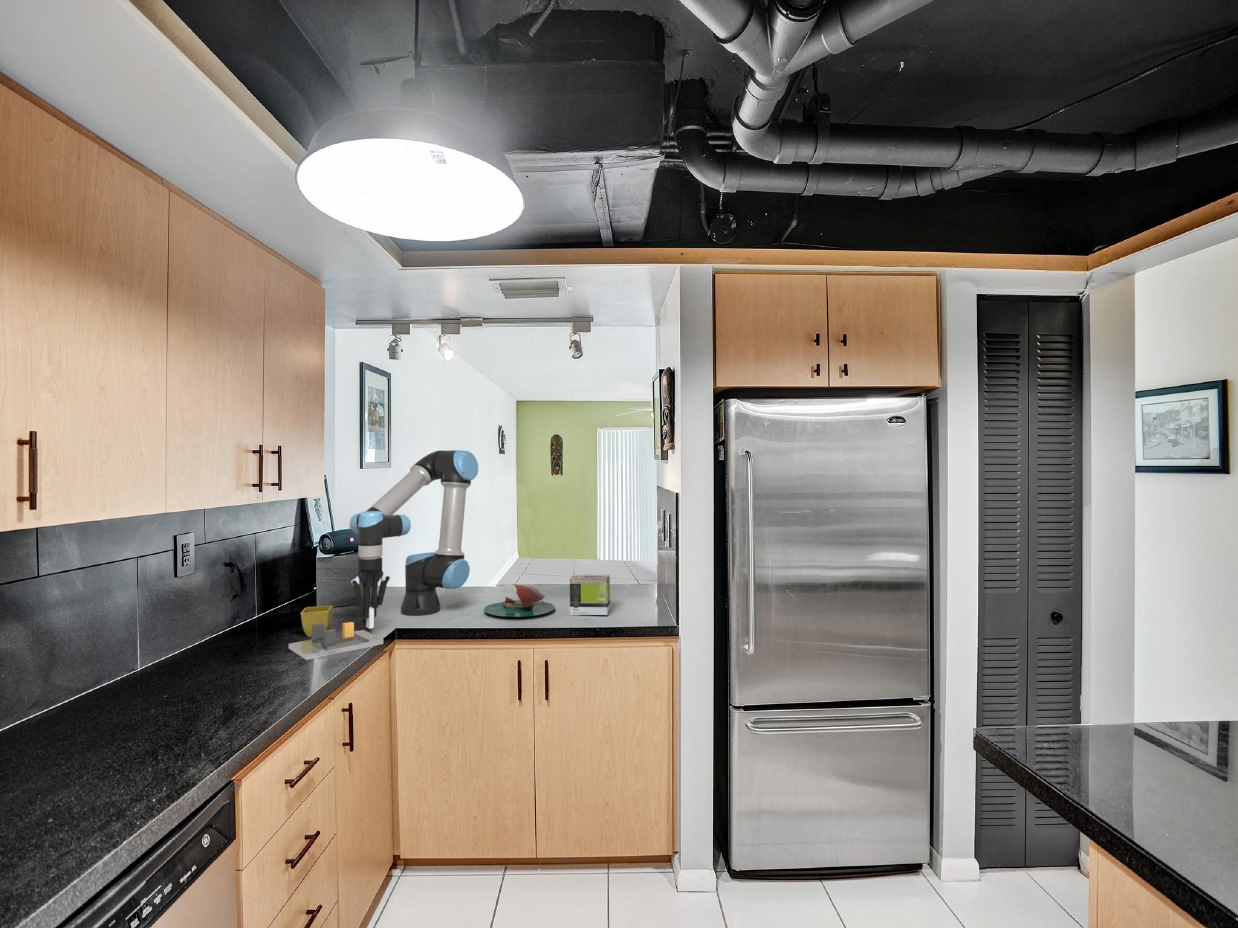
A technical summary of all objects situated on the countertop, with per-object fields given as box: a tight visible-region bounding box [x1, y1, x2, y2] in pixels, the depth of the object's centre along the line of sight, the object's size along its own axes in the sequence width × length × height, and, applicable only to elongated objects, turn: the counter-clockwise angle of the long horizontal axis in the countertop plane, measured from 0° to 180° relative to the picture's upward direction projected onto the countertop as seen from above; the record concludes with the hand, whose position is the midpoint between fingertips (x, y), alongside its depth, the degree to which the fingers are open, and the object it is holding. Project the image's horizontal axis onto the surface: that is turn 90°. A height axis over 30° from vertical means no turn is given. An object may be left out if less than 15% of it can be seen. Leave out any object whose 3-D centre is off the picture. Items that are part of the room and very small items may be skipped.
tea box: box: [569, 574, 611, 616], centre depth 249 cm, size 15×10×15 cm
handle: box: [324, 628, 337, 648], centre depth 198 cm, size 3×2×5 cm, turn 134°
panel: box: [288, 629, 384, 661], centre depth 204 cm, size 24×16×2 cm, turn 135°
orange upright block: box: [341, 621, 355, 639], centre depth 207 cm, size 3×2×5 cm, turn 134°
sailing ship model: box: [483, 583, 556, 618], centre depth 251 cm, size 28×28×11 cm
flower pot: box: [300, 605, 333, 638], centre depth 217 cm, size 9×9×9 cm
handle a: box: [312, 623, 324, 641], centre depth 205 cm, size 3×2×5 cm, turn 134°
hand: (370, 627), depth 212 cm, fingers closed
